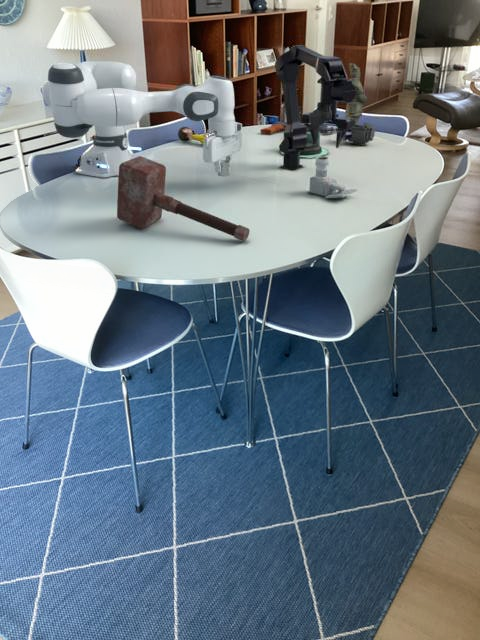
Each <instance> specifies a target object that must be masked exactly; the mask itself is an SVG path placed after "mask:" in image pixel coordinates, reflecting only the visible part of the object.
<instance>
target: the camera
mask: <svg viewBox="0 0 480 640" xmlns="http://www.w3.org/2000/svg"><path fill="white" fill-rule="evenodd" d="M329 165H330V157H329V156H326V155H322V156H317V157H315V175H313V176H311V177H309V191H308V192H309V193H311V194H313V195H318V196H321V197H325V199H338V198H345V197H347V196H349V195H351V194H354V193H356V192H358V191H359V190H358V189H357V188H353V189H346V186H345V185H342V184H338V181H337V179H335V178H330V177H328V167H329Z"/></svg>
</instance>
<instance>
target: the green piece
mask: <svg viewBox="0 0 480 640" xmlns="http://www.w3.org/2000/svg"><path fill="white" fill-rule="evenodd" d="M306 129H307V137H308V138H307V143H306V146H305V150H304V151H300V158H307V159H309V158H310V159H311V158H313V159H314V158H316V157H319V156H326V155H327V154H328V150H326V149H325V148H322V146H321V144H320V142H321V132H318V140H317V144H314V143H313V139H312V136H311V133H310V130H309V128H306ZM280 154H282V155H284V153H283V152H280Z"/></svg>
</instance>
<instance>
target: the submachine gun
mask: <svg viewBox="0 0 480 640" xmlns="http://www.w3.org/2000/svg"><path fill="white" fill-rule="evenodd" d="M300 123H301V122H300ZM304 124H305V123H301V125H302V126H303V127H306V128H308V127H307V126H305V125H304ZM286 126H287V121H274V122H273V123H272V124H271V125H270V126H268V127H265V128H261V129H260V133H261V134H263V135H271V134H274V133H276V132H277V133H278V132H281V131H283V132H284V131H285V129H286ZM328 127H329V126H328V125H327V124H323V125H320V126H319V132H320V133H322V135H323V136H329V135H331V134H333V133H334V132H335V128H334V126H331V127H329V128H328Z"/></svg>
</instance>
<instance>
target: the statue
mask: <svg viewBox="0 0 480 640" xmlns="http://www.w3.org/2000/svg"><path fill="white" fill-rule="evenodd" d="M348 70H349V73H350V75H349V76H350V78H349V80H352V84H353V85H354V86H355V89H356V95H355V98H354V99H353V101H351V102H350V103H346V106H345V112H344V115H345V117H350V118H354V120H355V124H357V125H359V124H358V123H359V121H360V118H361V117H362V116H363V108H364V104H365V103H367V102H368V96H367V95H366V94H365V91H364V86H363V84H362V82H361V68H360V67H359V66H358V65H357V64H356V63H351V62H350V63H348Z"/></svg>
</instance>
